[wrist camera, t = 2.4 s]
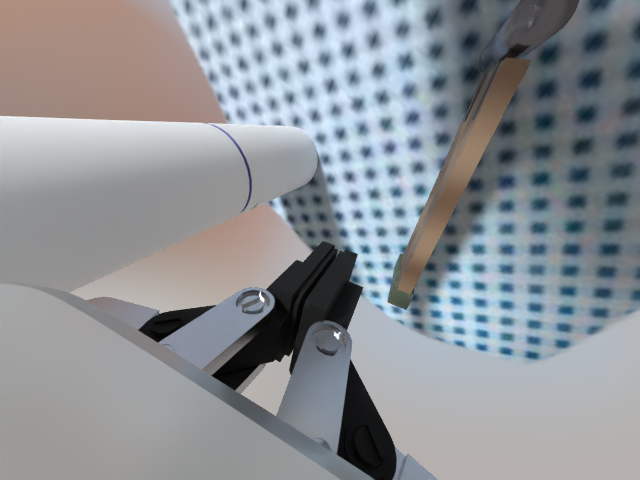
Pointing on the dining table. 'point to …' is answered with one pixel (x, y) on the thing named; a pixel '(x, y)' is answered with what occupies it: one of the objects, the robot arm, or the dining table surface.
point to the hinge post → (526, 30)
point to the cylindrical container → (129, 189)
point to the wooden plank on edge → (456, 173)
